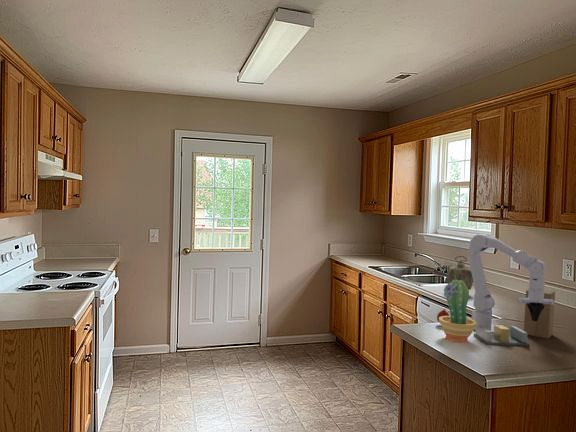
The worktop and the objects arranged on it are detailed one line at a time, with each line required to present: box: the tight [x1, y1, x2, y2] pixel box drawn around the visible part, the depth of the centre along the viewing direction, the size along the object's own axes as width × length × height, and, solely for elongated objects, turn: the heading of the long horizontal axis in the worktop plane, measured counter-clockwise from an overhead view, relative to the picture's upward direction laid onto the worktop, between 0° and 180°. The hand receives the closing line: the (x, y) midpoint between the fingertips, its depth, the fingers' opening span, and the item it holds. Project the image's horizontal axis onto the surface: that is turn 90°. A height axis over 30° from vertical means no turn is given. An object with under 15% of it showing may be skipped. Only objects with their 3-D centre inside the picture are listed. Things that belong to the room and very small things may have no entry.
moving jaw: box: [509, 325, 529, 343], centre depth 192 cm, size 10×2×4 cm, turn 1°
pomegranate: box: [436, 308, 450, 325], centre depth 213 cm, size 6×6×8 cm
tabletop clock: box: [446, 255, 474, 291], centre depth 289 cm, size 14×9×25 cm, turn 82°
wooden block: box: [523, 288, 556, 340], centre depth 204 cm, size 10×10×20 cm
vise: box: [473, 325, 530, 347], centre depth 192 cm, size 12×18×5 cm, turn 91°
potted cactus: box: [438, 280, 477, 343], centre depth 192 cm, size 15×15×25 cm
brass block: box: [493, 324, 510, 341], centre depth 192 cm, size 6×4×5 cm, turn 1°
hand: (534, 320), depth 192 cm, fingers closed
